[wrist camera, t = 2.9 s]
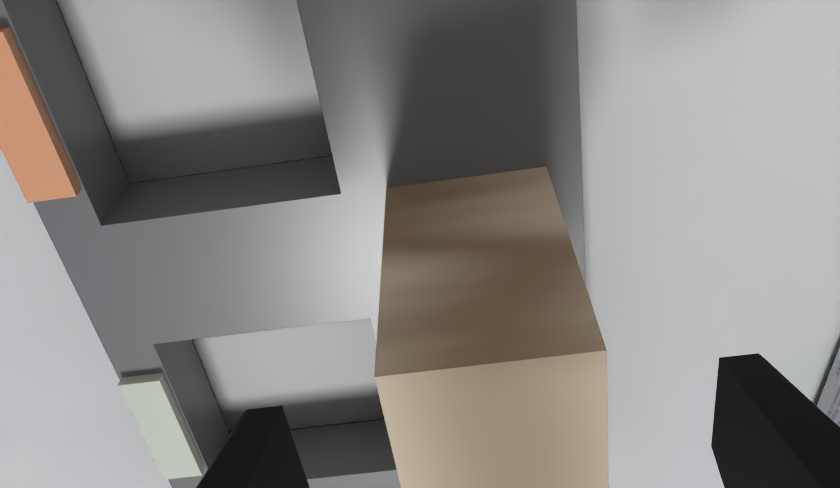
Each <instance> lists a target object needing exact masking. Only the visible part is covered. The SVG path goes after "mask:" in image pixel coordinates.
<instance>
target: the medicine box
mask: <svg viewBox="0 0 840 488" xmlns="http://www.w3.org/2000/svg"><path fill="white" fill-rule="evenodd" d="M817 407H818V408H819V409H820V410H821V411H822V412H823V413H825V414H826V415H827V416H828V417H829V418H830V419H831V420H833V421H834V422H835V423H836V424H837V425H838V426H839V427H840V347H839V350H838V352H837V355H836V357H835V360H834V363H833V365H832V368H831V370H830V373H829V376H828V378H827V381H826V384H825V386H824V388H823V391H822V394H821V396H820V399H819V401H818V404H817Z"/></svg>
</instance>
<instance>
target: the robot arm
mask: <svg viewBox="0 0 840 488" xmlns="http://www.w3.org/2000/svg"><path fill="white" fill-rule="evenodd" d="M711 446H712V449H713V453H714V456H715V459H716V462H717V465H718V468H719V472H720V475H721V478H722V481H723V484H724V487H725V488H840V427H839V426H838V425H837V424H836V423H835V422H834V421H833V420H831V419H830V418H829V417H828V416H827V415H826V414H825V413H823V412H822V411H821V410H820V409H819V408H818V407H817V406H816V405H815V404H813V403H812V402H811V401H810V400H809V399H808V398H807V397H806V396H805V395H804V394H802V393H801V392H800V391H799V390H798V389H797V388H796V387H795V386H794V385H793V384H792V383H791V382H789V381H788V380H787V379H786V378H785V377H784V376H783V375H782V374H781V373H780V372H779V371H778V370H776V369H775V368H774V367H773V366H772V365H771V364H770V363H769V362H768V361H767V360H766V359H765V358H763V357H762V356H761V355H760V354H749V355H740V356H731V357H722V358H719V368H718V379H717V390H716V401H715V412H714V423H713V434H712V445H711ZM196 488H309V484H308V481H307V478H306V475H305V472H304V469H303V466H302V464H301V461H300V458H299V455H298V452H297V449H296V446H295V443H294V440H293V437H292V434H291V431H290V428H289V425H288V422H287V419H286V416H285V413H284V411H283V408H282V406H276V407H267V408H258V409H249V410H246V411H245V413H244V414H243V415H242V416H241V418H240V419H239V421H238V423H237V424H236V426H235V427H234V429H233V431H232V432H231V434H230V435H229V437H228V439H227V440H226V442H225V443H224V445H223V447H222V448H221V450H220V451H219V453H218V454H217V456H216V458H215V459H214V461H213V462H212V464H211V465H210V467H209V468H208V470H207V472H206V473H205V475H204V476H203V478H202V479H201V481H200V482H199V484H198V485H197V487H196Z"/></svg>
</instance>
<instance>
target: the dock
mask: <svg viewBox="0 0 840 488" xmlns="http://www.w3.org/2000/svg"><path fill="white" fill-rule="evenodd" d="M297 5H298V9H299V13H300V18H301V22H302V26H303V31H304V35H305V39H306V44H307V48H308V52H309V57H310V61H311V65H312V69H313V74H314V78H315V82H316V87H317V91H318V95H319V100H320V104H321V108H322V113H323V117H324V121H325V126H326V130H327V134H328V139H329V143H330V147H331V152H332V156H328V157H321V158H313V159H306V160H299V161H291V162H284V163H277V164H270V165H262V166H255V167H248V168H240V169H233V170H226V171H218V172H211V173H204V174H196V175H189V176H182V177H175V178H167V179H160V180H153V181H145V182H138V183H131V184H129V182H128V179H127V177H126V174H125V172H124V169H123V167H122V164H121V162H120V159H119V157H118V154H117V152H116V150H115V147H114V145H113V142H112V140H111V137H110V135H109V132H108V130H107V127H106V125H105V122H104V120H103V117H102V115H101V112H100V110H99V107H98V105H97V102H96V100H95V97H94V95H93V92H92V90H91V87H90V85H89V82H88V80H87V77H86V75H85V72H84V70H83V67H82V65H81V62H80V60H79V57H78V55H77V53H76V50H75V48H74V45H73V43H72V40H71V38H70V35H69V33H68V30H67V28H66V25H65V23H64V20H63V18H62V15H61V13H60V10H59V8H58V5H57V3H56V0H0V147H1V149H2V152H3V154H4V156H5V158H6V160H7V162H8V164H9V166H10V168H11V170H12V172H13V174H14V176H15V178H16V180H17V182H18V184H19V186H20V188H21V190H22V192H23V194H24V196H25V198H26V200H27V202H28V203H31V202H33V203H34V205H35V207H36V209H37V211H38V213H39V215H40V217H41V219H42V221H43V223H44V225H45V228H46V230H47V232H48V234H49V236H50V238H51V240H52V242H53V244H54V246H55V248H56V250H57V252H58V254H59V256H60V258H61V260H62V262H63V264H64V267H65V269H66V271H67V273H68V275H69V277H70V279H71V281H72V283H73V285H74V287H75V289H76V291H77V293H78V295H79V297H80V299H81V301H82V303H83V306H84V308H85V310H86V312H87V314H88V316H89V318H90V320H91V322H92V324H93V326H94V328H95V330H96V332H97V334H98V336H99V338H100V340H101V342H102V344H103V347H104V349H105V351H106V353H107V355H108V357H109V359H110V361H111V363H112V365H113V367H114V369H115V371H116V373H117V375H118V377H119V379H120V382H119V384H118V387H119V389H120V391H121V393H122V395H123V397H124V399H125V401H126V403H127V406H128V408H129V410H130V412H131V414H132V416H133V418H134V420H135V422H136V424H137V426H138V428H139V430H140V432H141V434H142V436H143V438H144V440H145V442H146V444H147V446H148V448H149V450H150V452H151V454H152V456H153V458H154V460H155V462H156V464H157V466H158V469H159V471H160V473H161V475H162V477H163V479H164V480H166V479H168V480H169V482H170V484H171V486H172V488H196V487H197V485H198V484H199V482H200V481H201V479H202V478H203V476H204V475H205V473H206V472H207V470H208V468H209V467H210V465H211V464H212V462H213V461H214V459H215V458H216V456H217V454H218V453H219V451H220V450H221V448H222V447H223V445H224V443H225V442H226V440H227V439H228V437H229V435H230V433H229V431H228V428H227V426H226V423H225V421H224V418H223V416H222V413H221V411H220V408H219V406H218V403H217V401H216V398H215V396H214V393H213V391H212V388H211V386H210V383H209V381H208V378H207V376H206V373H205V371H204V368H203V366H202V363H201V361H200V358H199V356H198V353H197V351H196V349H195V346H194V344H193V341H192V339H200V338H209V337H217V336H225V335H234V334H242V333H250V332H258V331H267V330H275V329H283V328H291V327H300V326H308V325H316V324H325V323H333V322H341V321H349V320H358V319H366V318H370V320H371V324H372V329H373V333H374V337H375V341H376V344H377V328H378V312H379V296H380V280H381V264H382V248H383V232H384V216H385V200H386V188H390V187H397V186H405V185H412V184H420V183H427V182H435V181H442V180H450V179H457V178H465V177H472V176H480V175H487V174H495V173H502V172H510V171H517V170H525V169H532V168H540V167H547V170H548V173H549V176H550V179H551V182H552V185H553V188H554V191H555V194H556V197H557V200H558V203H559V206H560V210H561V213H562V216H563V219H564V222H565V225H566V228H567V231H568V234H569V237H570V240H571V243H572V246H573V249H574V252H575V255H576V259H577V262H578V265H579V268H580V271H581V274H582V277H583V280H584V283H585V286H586V280H585V250H584V221H583V191H582V162H581V132H580V103H579V73H578V44H577V15H576V0H297ZM290 431H291V434H292V437H293V440H294V443H295V446H296V449H297V452H298V455H299V458H300V461H301V464H302V466H303V469H304V472H305V475H306V478H307V481H308V484H309V488H401V485H400V481H399V477H398V473H397V469H396V465H395V460H394V456H393V452H392V448H391V444H390V440H389V436H388V431H387V427H386V423H385V420H376V421H367V422H358V423H349V424H340V425H331V426H322V427H313V428H304V429H295V430H290Z"/></svg>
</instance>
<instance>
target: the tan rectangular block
mask: <svg viewBox="0 0 840 488" xmlns="http://www.w3.org/2000/svg"><path fill="white" fill-rule="evenodd" d="M374 377H375V381H376V386H377V390H378V394H379V398H380V402H381V406H382V411H383V415H384V419H385V423H386V427H387V431H388V436H389V440H390V444H391V448H392V452H393V456H394V460H395V465H396V469H397V473H398V477H399V481H400V485H401V488H609V474H608V413H607V352H606V347H605V344H604V341H603V338H602V335H601V332H600V329H599V326H598V323H597V320H596V317H595V314H594V311H593V308H592V305H591V301H590V298H589V295H588V292H587V289H586V286H585V283H584V280H583V277H582V274H581V271H580V268H579V265H578V262H577V259H576V255H575V252H574V249H573V246H572V243H571V240H570V237H569V234H568V231H567V228H566V225H565V222H564V219H563V216H562V213H561V210H560V206H559V203H558V200H557V197H556V194H555V191H554V188H553V185H552V182H551V179H550V176H549V173H548V170H547V167H540V168H532V169H525V170H517V171H510V172H502V173H495V174H487V175H480V176H472V177H465V178H457V179H450V180H442V181H435V182H427V183H420V184H412V185H405V186H397V187H390V188H386V200H385V216H384V232H383V248H382V264H381V280H380V296H379V312H378V328H377V344H376V360H375V376H374Z"/></svg>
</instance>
